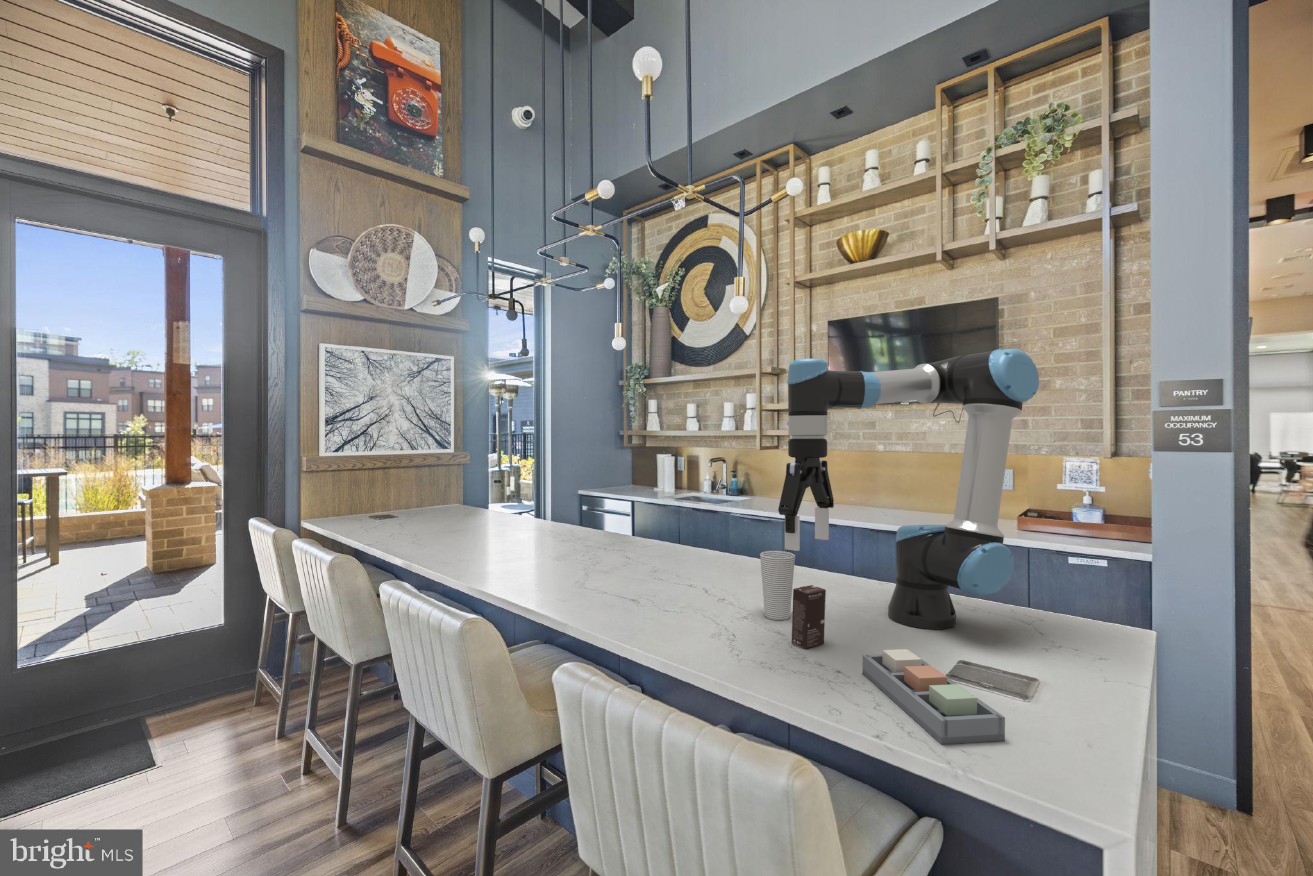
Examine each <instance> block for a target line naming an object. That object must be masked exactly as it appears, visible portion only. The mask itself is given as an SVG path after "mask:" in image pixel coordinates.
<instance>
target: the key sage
mask: <svg viewBox="0 0 1313 876" xmlns="http://www.w3.org/2000/svg"><path fill="white" fill-rule="evenodd" d="M969 692H970V691H968V690H967V689H965V688H964V687H962V686H961V685H959V684H958V683H957V684H950V685H929V702H931V703H932V704H933V705H934V706H936V707H937V708H938V709H939V710H941V711H942V712H943V713H944V714H946V715H947V716H953V715H972V714H977V698H978V697H976V696H975V695H974V694H972V693H971V692H970V693H969Z"/></svg>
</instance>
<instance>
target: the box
mask: <svg viewBox="0 0 1313 876" xmlns="http://www.w3.org/2000/svg"><path fill="white" fill-rule="evenodd" d="M826 592H827V590H826V589H825V588H822V587H819V586H817V585H816V586H815V585H813V584H811V585H806V586H800V587H795V588H792V619H791V620H792V621H791V622H792V623H791V644H792V645H794V646H796V647H798V648H802V649H805V650H806V649H810V648H813V647H817V646H820V645H824V644H825V620H826V618H825V617H826V616H825V615H826V594H827V593H826Z"/></svg>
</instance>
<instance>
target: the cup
mask: <svg viewBox="0 0 1313 876" xmlns="http://www.w3.org/2000/svg"><path fill="white" fill-rule="evenodd" d="M759 556H760V560H759V561H760V570H761V571H760V572H761V584H762V595H763V597H762V598H763V607H764V616H765V617H766V619H769V620H773V621H786V620H788V619H789V618H790V617H791V606H792V598H793V583H794V572H795V560H796V554H795V553H793V552H789V551H784V550H766V551H765V550H764V551H762V552H760V554H759Z"/></svg>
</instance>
